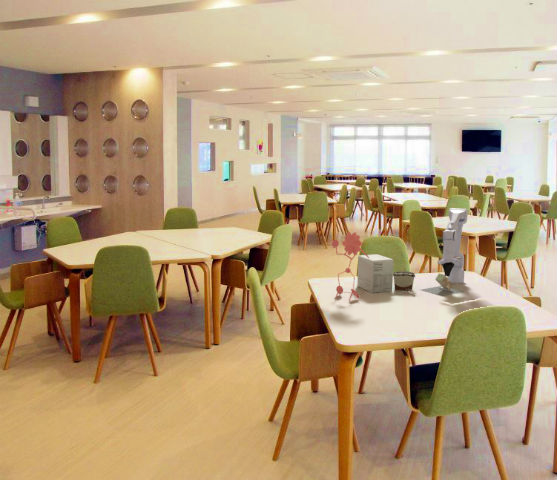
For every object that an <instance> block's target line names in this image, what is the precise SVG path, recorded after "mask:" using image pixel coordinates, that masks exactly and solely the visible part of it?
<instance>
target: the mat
mask: <svg viewBox="0 0 557 480" xmlns="http://www.w3.org/2000/svg"><path fill="white" fill-rule="evenodd" d="M420 291H422V292H425V293H429V294H432V295H436V296H440V297H445V296H446V297H447V296H452V295H456V294H462V293H465V291H463V290H459V289H455V288H453V287H452V288H451V289H446V288H443V287H442V286H441V285H439V286H433V287H429V288H428V287H427V288H423V289H420Z"/></svg>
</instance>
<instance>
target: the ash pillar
mask: <svg viewBox="0 0 557 480" xmlns="http://www.w3.org/2000/svg"><path fill="white" fill-rule="evenodd" d="M435 277H436V278H435V281H436V282H437V283H438V284H439V286H442V287H443V288H446V289H451V288H453V286H454V283H451V281H450V280H449V279H448V278H447V277H448V276H445V274H443V273H438V274H437V276H435Z"/></svg>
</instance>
